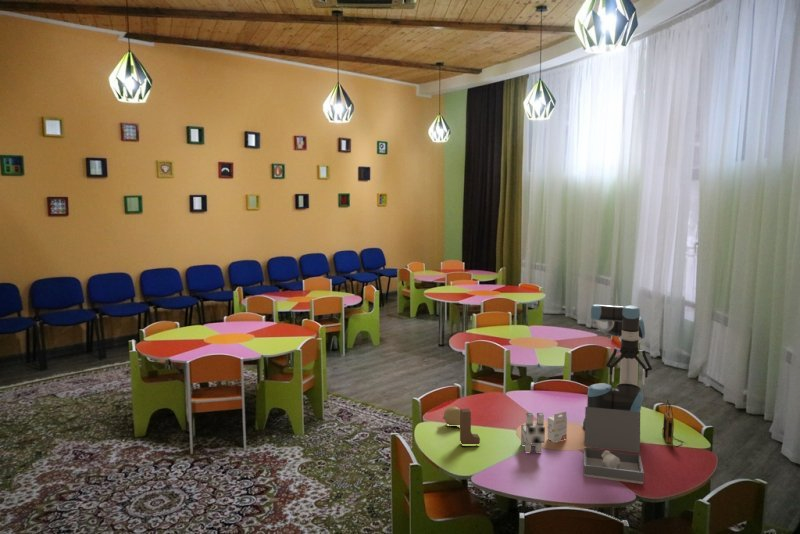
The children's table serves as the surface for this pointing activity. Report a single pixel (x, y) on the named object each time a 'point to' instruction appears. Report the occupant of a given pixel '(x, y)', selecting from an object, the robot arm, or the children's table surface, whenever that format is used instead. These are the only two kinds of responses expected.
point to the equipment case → (626, 471)
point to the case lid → (612, 429)
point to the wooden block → (467, 428)
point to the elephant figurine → (610, 460)
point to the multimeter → (668, 426)
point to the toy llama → (533, 432)
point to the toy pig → (452, 416)
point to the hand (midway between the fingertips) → (627, 382)
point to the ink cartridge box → (557, 427)
